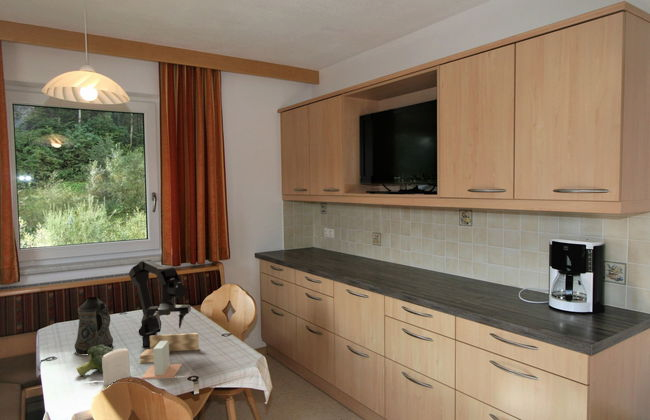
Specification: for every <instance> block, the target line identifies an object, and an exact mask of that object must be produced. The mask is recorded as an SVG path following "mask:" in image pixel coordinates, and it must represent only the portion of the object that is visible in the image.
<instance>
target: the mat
mask: <svg viewBox="0 0 650 420" xmlns="http://www.w3.org/2000/svg"><path fill="white" fill-rule="evenodd" d="M182 365H183V363H177V364H176V363H175V364H174V363H172V364H170V366H169V368H168V369H167V370H166V372H165V373H164V375H155V373H154V364H153V365H150V367H148V368H147V370H146V371H145V372H144V374H143V375H142V376H141V380H151V379H165V378H169V379H170V378H175V377H176V374H177V373H178V371H179V369H180V368H181V366H182Z"/></svg>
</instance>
